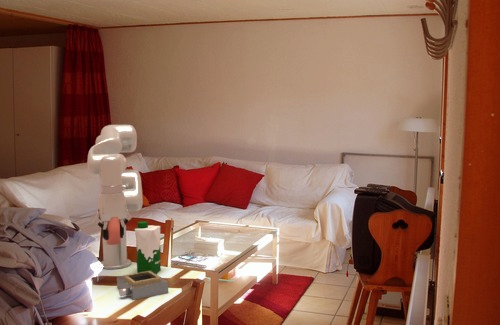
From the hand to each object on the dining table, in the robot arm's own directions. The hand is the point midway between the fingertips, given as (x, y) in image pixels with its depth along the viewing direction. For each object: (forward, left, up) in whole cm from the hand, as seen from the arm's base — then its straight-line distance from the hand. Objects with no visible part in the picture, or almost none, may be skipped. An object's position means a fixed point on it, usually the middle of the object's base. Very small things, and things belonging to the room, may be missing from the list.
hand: (113, 237), depth 203 cm
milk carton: (-6, +16, -17) cm, 24 cm away
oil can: (0, 0, -2) cm, 2 cm away
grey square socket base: (+14, +4, -17) cm, 22 cm away
